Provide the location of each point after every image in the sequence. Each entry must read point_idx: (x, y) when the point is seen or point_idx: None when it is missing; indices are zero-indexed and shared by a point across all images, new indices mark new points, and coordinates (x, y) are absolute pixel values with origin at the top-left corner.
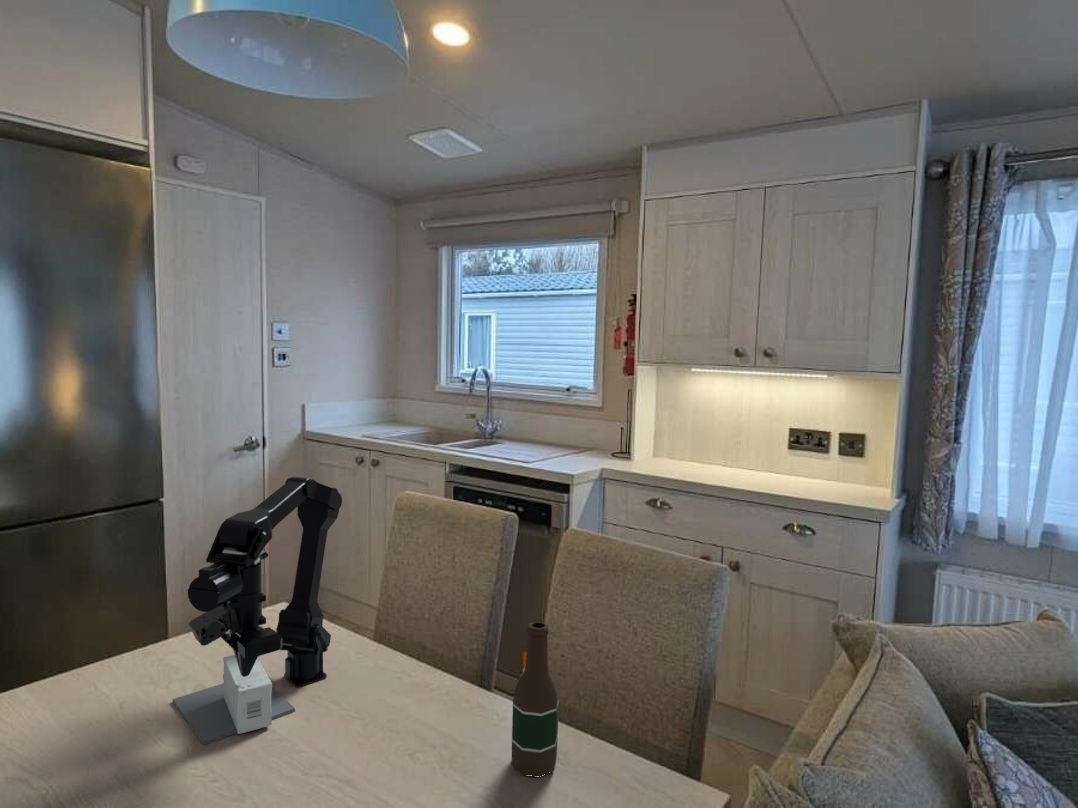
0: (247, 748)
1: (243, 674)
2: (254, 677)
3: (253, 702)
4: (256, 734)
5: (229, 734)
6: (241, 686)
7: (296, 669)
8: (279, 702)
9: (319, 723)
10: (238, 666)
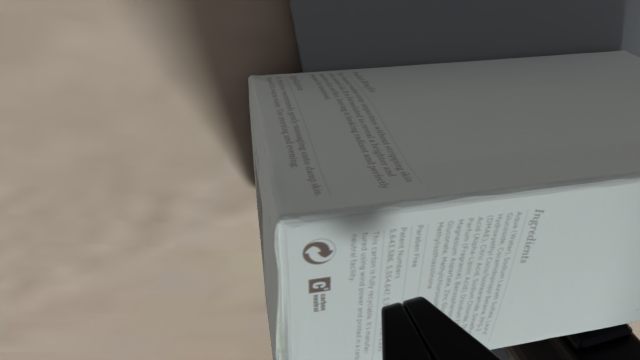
0: (132, 97)
1: (382, 330)
2: None
3: (262, 233)
4: (241, 143)
5: (296, 34)
6: (344, 243)
7: None
8: None
9: (212, 334)
10: (478, 351)
